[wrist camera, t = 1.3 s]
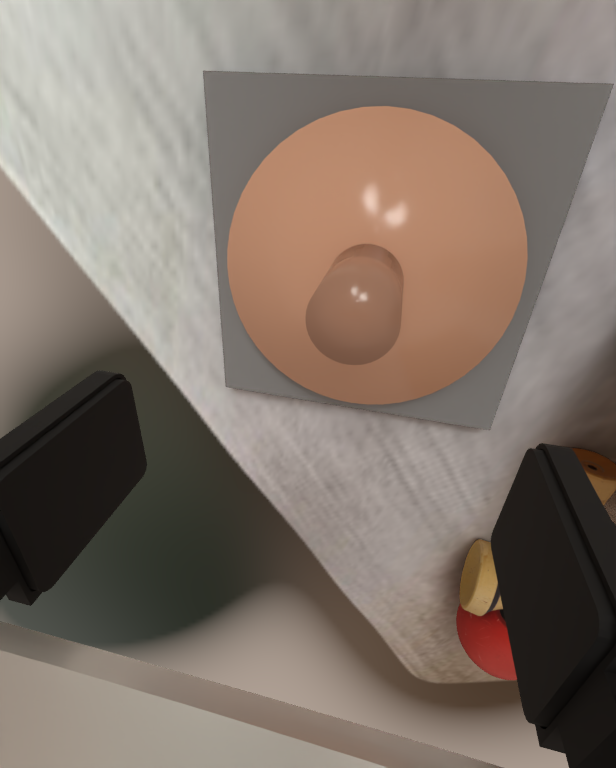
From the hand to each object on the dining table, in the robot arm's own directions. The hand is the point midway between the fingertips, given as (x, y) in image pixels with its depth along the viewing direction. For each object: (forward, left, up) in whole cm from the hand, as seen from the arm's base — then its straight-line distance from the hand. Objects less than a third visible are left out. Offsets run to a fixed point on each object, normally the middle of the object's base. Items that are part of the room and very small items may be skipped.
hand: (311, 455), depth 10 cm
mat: (-1, 0, -14) cm, 14 cm away
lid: (-1, 0, -13) cm, 13 cm away
